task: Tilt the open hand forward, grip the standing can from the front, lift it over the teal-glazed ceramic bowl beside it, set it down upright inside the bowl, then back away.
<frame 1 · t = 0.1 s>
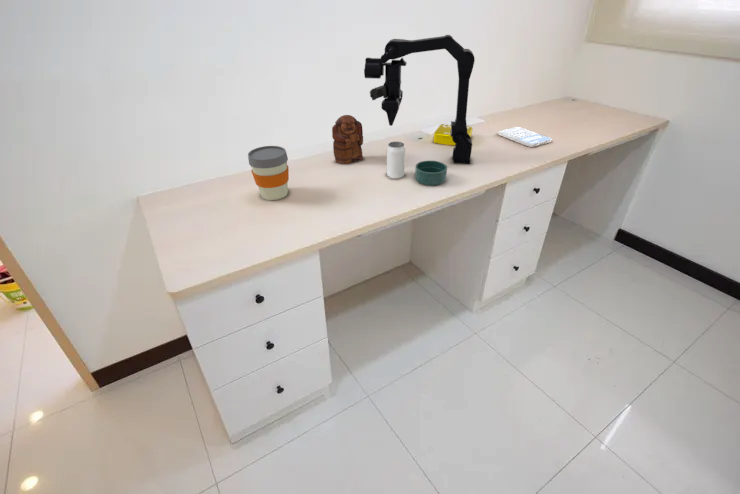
hand: (392, 121, 145), 15 cm above the table, tool pointing down, fingers open, 9 cm apart
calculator: (523, 138, 169), on the table
can: (395, 175, 140), on the table
wooden figurine: (349, 160, 152), on the table
bowl: (430, 179, 136), on the table
reusable coffee cup: (274, 194, 129), on the table
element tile: (452, 140, 170), on the table
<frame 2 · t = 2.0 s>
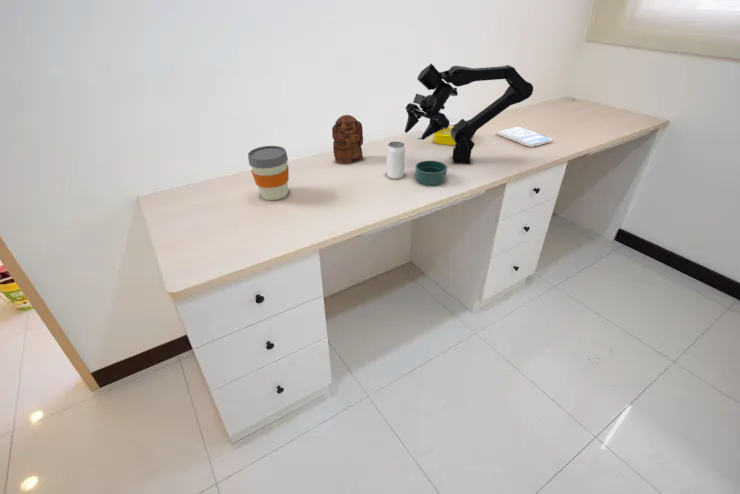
hand: (413, 135, 136), 13 cm above the table, tool tilted 45°, fingers open, 9 cm apart
nothing on the table moved.
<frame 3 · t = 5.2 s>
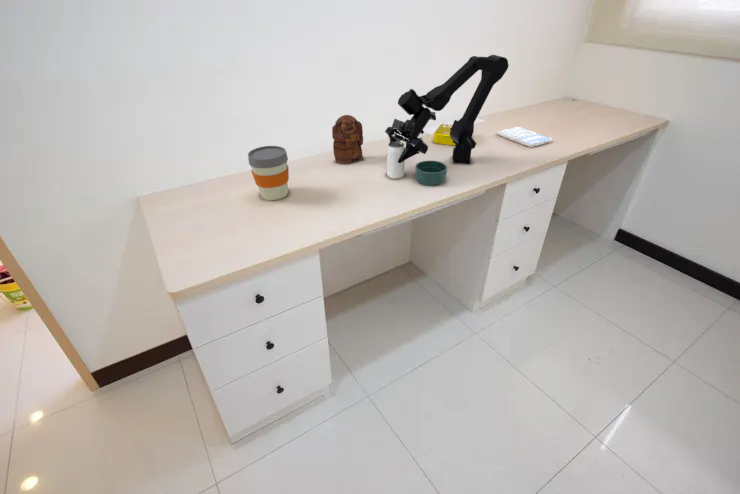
hand: (392, 159, 135), 7 cm above the table, tool tilted 45°, fingers closed on can, 6 cm apart
can: (395, 175, 140), on the table, touching gripper
everything else where it was.
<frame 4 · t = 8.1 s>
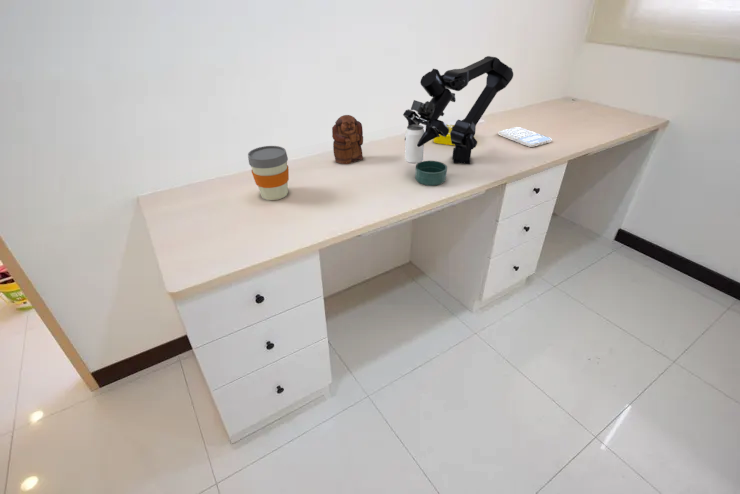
hand: (411, 143, 130), 13 cm above the table, tool tilted 45°, fingers closed on can, 6 cm apart
can: (413, 160, 135), point 6 cm above the table, touching gripper
everything else where it was.
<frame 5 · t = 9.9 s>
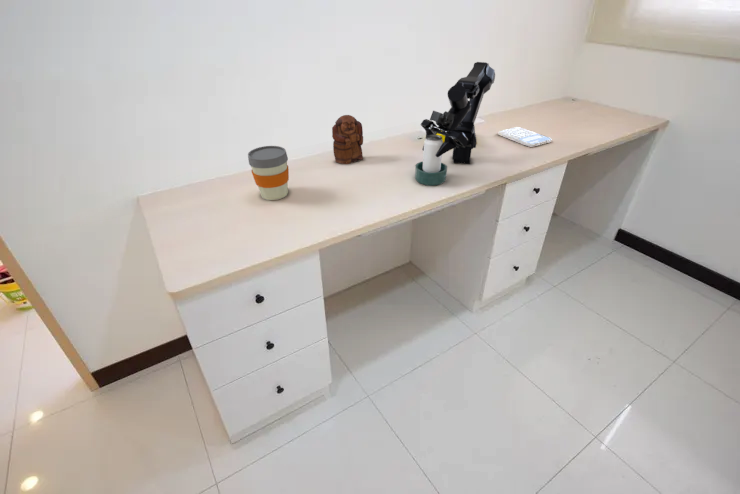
hand: (429, 153, 130), 10 cm above the table, tool tilted 45°, fingers closed on can, 6 cm apart
can: (431, 170, 135), point 3 cm above the table, touching gripper
everything else where it was.
when the fingers open (7 cm above the table, at t = 11.4 s): can stays where it is, resting on bowl.
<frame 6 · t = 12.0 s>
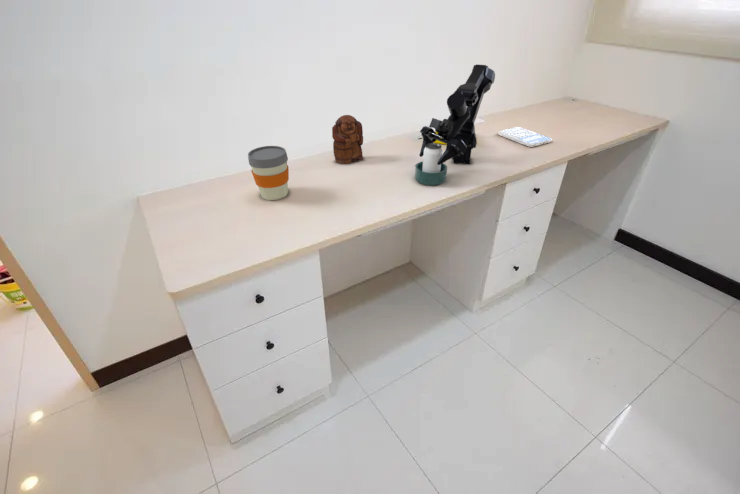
hand: (429, 160, 131), 8 cm above the table, tool tilted 45°, fingers open, 9 cm apart
can: (430, 178, 136), resting on bowl
everything else where it was.
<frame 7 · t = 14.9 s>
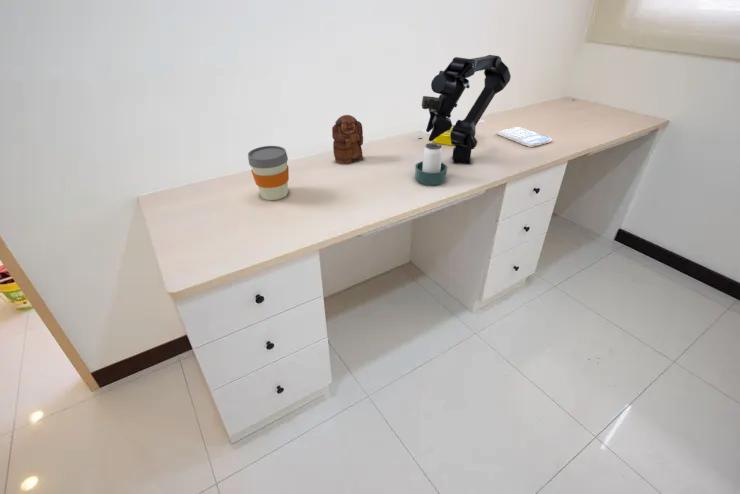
hand: (428, 136, 138), 12 cm above the table, tool tilted 25°, fingers open, 9 cm apart
nothing on the table moved.
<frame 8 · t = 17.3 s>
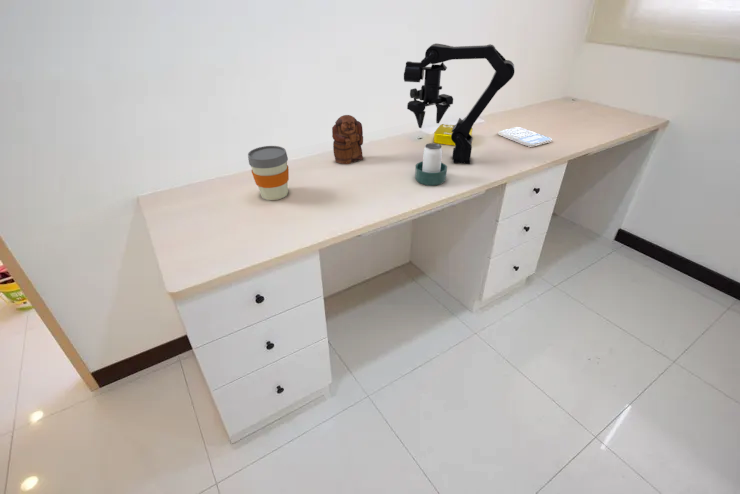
hand: (428, 125, 146), 13 cm above the table, tool pointing down, fingers open, 9 cm apart
nothing on the table moved.
at the end: can inside the target area in the bowl (0.1 cm from its centre), point 0.4 cm above the bowl's base; can tilted 0°; the gripper is holding nothing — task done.
